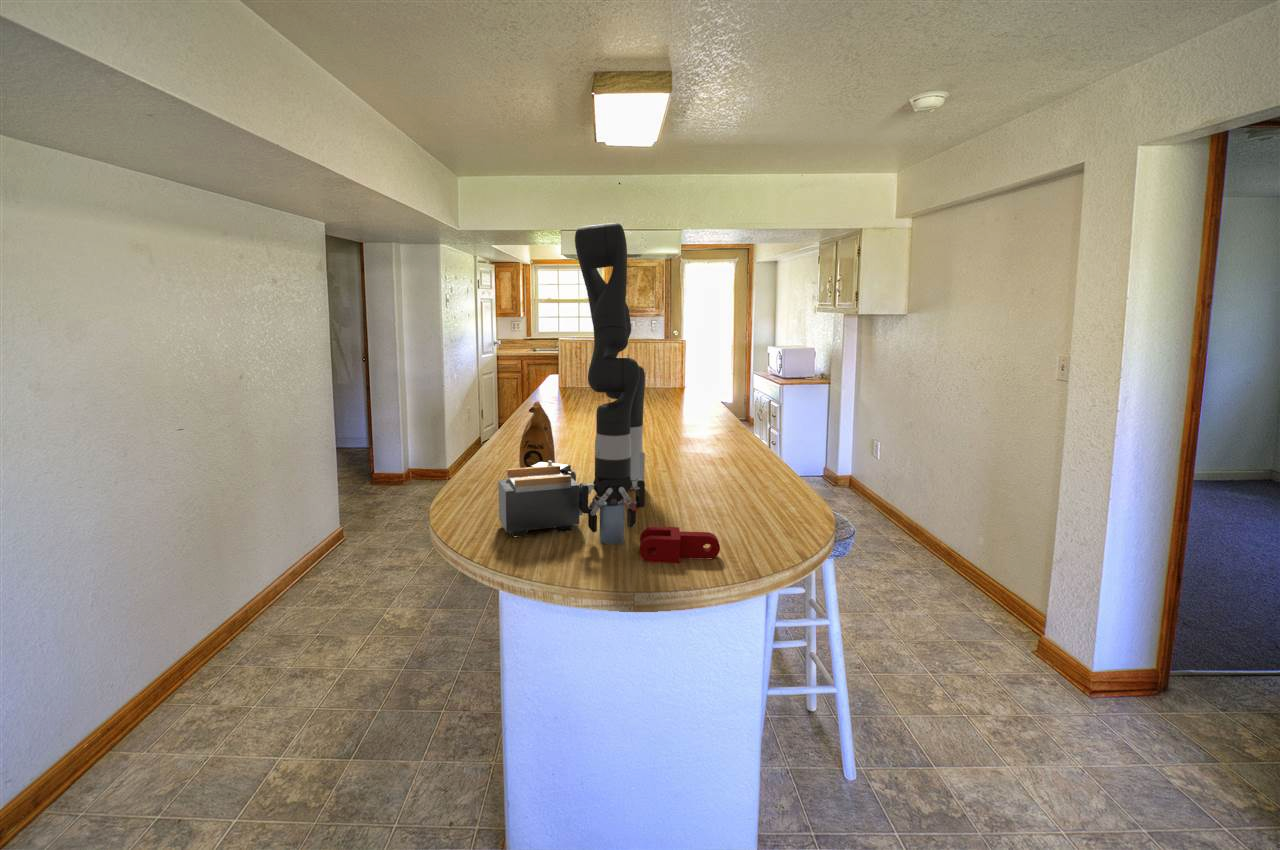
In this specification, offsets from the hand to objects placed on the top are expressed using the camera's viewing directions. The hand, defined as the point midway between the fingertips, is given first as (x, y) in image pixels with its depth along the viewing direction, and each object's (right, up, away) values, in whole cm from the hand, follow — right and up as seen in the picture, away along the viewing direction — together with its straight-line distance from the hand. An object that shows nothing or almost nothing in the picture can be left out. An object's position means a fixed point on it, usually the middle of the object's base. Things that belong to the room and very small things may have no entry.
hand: (611, 528), depth 139 cm
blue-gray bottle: (0, -3, 0) cm, 2 cm away
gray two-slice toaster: (-17, -1, +7) cm, 18 cm away
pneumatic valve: (-16, +1, +21) cm, 26 cm away
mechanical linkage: (+14, -5, -7) cm, 16 cm away
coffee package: (-23, +6, +43) cm, 49 cm away
